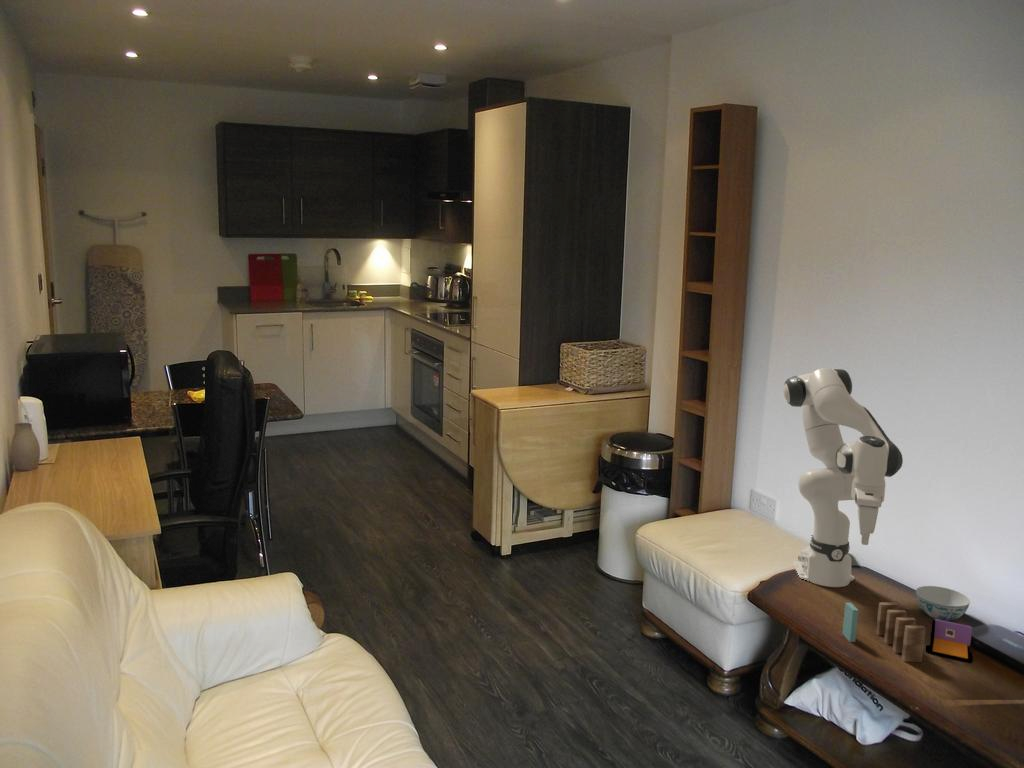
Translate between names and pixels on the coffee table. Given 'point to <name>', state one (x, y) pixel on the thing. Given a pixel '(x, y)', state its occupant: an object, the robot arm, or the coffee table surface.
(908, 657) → the domino
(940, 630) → the miniature room corner
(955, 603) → the chinaware
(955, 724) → the coffee table surface
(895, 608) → the domino
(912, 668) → the coffee table surface
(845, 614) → the domino
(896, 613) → the domino
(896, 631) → the domino
